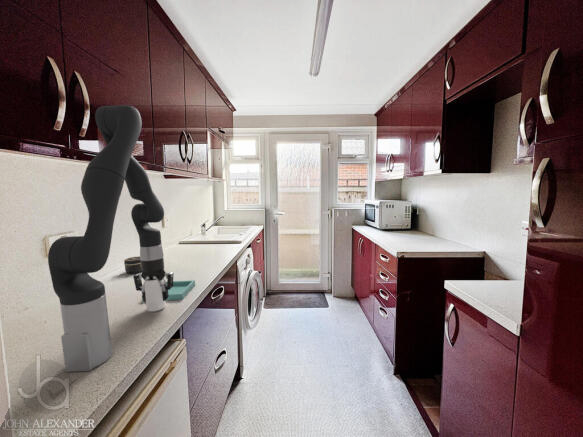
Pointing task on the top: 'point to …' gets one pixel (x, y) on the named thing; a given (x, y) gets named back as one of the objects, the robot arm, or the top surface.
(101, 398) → the top surface
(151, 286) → the can
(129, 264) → the jar
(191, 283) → the tray
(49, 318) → the top surface
